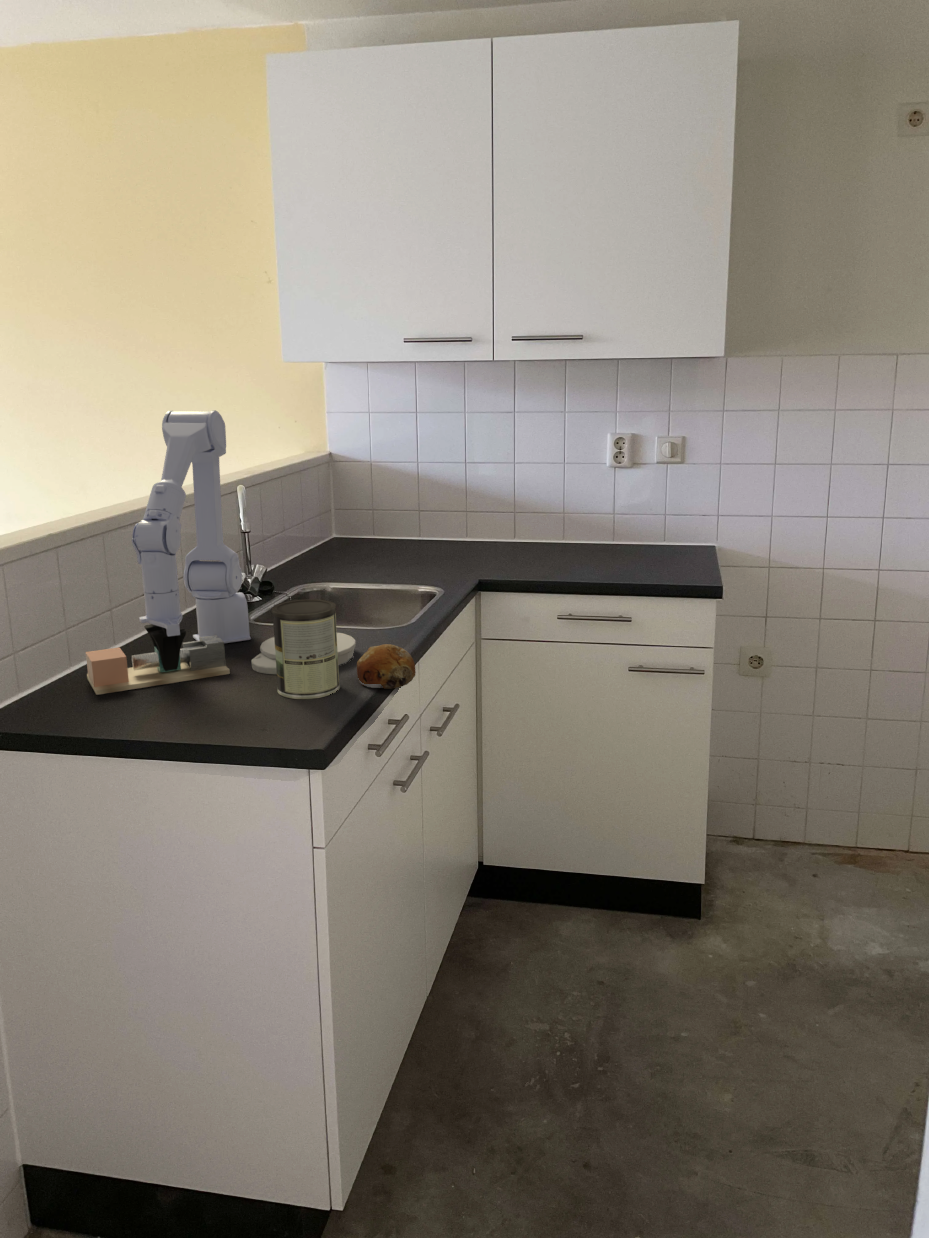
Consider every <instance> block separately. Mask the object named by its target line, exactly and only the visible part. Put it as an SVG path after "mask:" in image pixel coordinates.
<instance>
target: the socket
mask: <svg viewBox="0 0 929 1238" xmlns="http://www.w3.org/2000/svg"><path fill="white" fill-rule="evenodd" d="M85 659H86V667H87V668H86V669H87V674H88V677H89V679H90V681H91V682H92V684H93V686H94V687H99V686H105V685H112V684H118V683H125V682H129V678H128V669H127V668H128V660H127V659H128V658H127V655H126V654H125V653H124V651H123V650H122V649H121V647H119V646H118V647H113V648H106V649H99V650H98V649H97V650H92V651H91V650H90V651H85Z"/></svg>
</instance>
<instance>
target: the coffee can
mask: <svg viewBox="0 0 929 1238" xmlns="http://www.w3.org/2000/svg"><path fill="white" fill-rule="evenodd" d="M336 611H337V604H336V603H335V602H333V601H330V600H326V599H319V598H318V599H316V598H315V599H313V598H311V599H309V598H307V599H305V598H304V599H294V600H287V601H283V602H279V603H278V604H275V605H273V606H272V607H271V614H272V624H273V625H272V626H273V637H274V640H275V655H276V670H277V674H276V680H277V681H276V682H277V683H276V685H277V690H276V691H277V693H278V695H280V696H281V697H284V698H287V699H294V700H313V699H314V700H315V699H320V698H324V697H327V696H328V697H329V696H331V695H333V694H335V693H337V692H338V691H339V690H340V688H341V686H340V674H339V666H338V650H337V633H338V632H337V631H338V630H337V615H336V614H337V613H336ZM337 690H338V691H337ZM336 691H337V692H336ZM332 693H333V694H332ZM330 694H331V695H330Z"/></svg>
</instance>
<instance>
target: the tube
mask: <svg viewBox="0 0 929 1238" xmlns="http://www.w3.org/2000/svg"><path fill="white" fill-rule="evenodd" d="M198 647H205V645H202V646H195V647H188V648H183V647H182V648H181V649H180V655H179V663H178V668H177V669H176V670H180V669H181V664H182V663H189V651H188V649H191V648H198ZM153 648H154V652H146V653H140V654H134V655H131V664H132V667H133V669H134V671H135V670H142V669H148V668H155V667H156V668H157V669H158V670H159V672H167V671H165V670H164V668H163V665H162V661H161V657H160V653H159V650H158V647H157V646H154V645H153ZM169 671H173V670H169Z"/></svg>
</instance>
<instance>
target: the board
mask: <svg viewBox="0 0 929 1238" xmlns="http://www.w3.org/2000/svg"><path fill="white" fill-rule="evenodd" d="M127 669H128V678H129V682H125V683H118V684H112V685H105V686H99V687H94V686H93V684H92V682H91V681H90V679H89V677H88V673H86V679H87V681H88V682H89V684H90V686H91V688H92V689H93V691H94V693H95V695H97V696H98V695H104V694H111V693H117V692H123V691H128V690H135V689H137V690H138V689H142V688H148V687H155V686H156V687H157V686H161V685H168V684H175V683H179V682H181V683H182V682H187V681H192V680H193V681H194V680H201V679H205V678H213V677H218V676H225V675H229V674H230V673H231V672H230V668H228V666H227V665H226V666H222V667H215V668H209V669H202V670H196V671H191V670H190V669H189V668H188V667H187V666H186V665H185V664H184V663H182V664H181V669H180V670H173V671H167V672H159V670H158V669H157V668H156V667H155V668H148V669H142V670H135V671H134V669H133V666H132V667H127Z"/></svg>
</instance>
